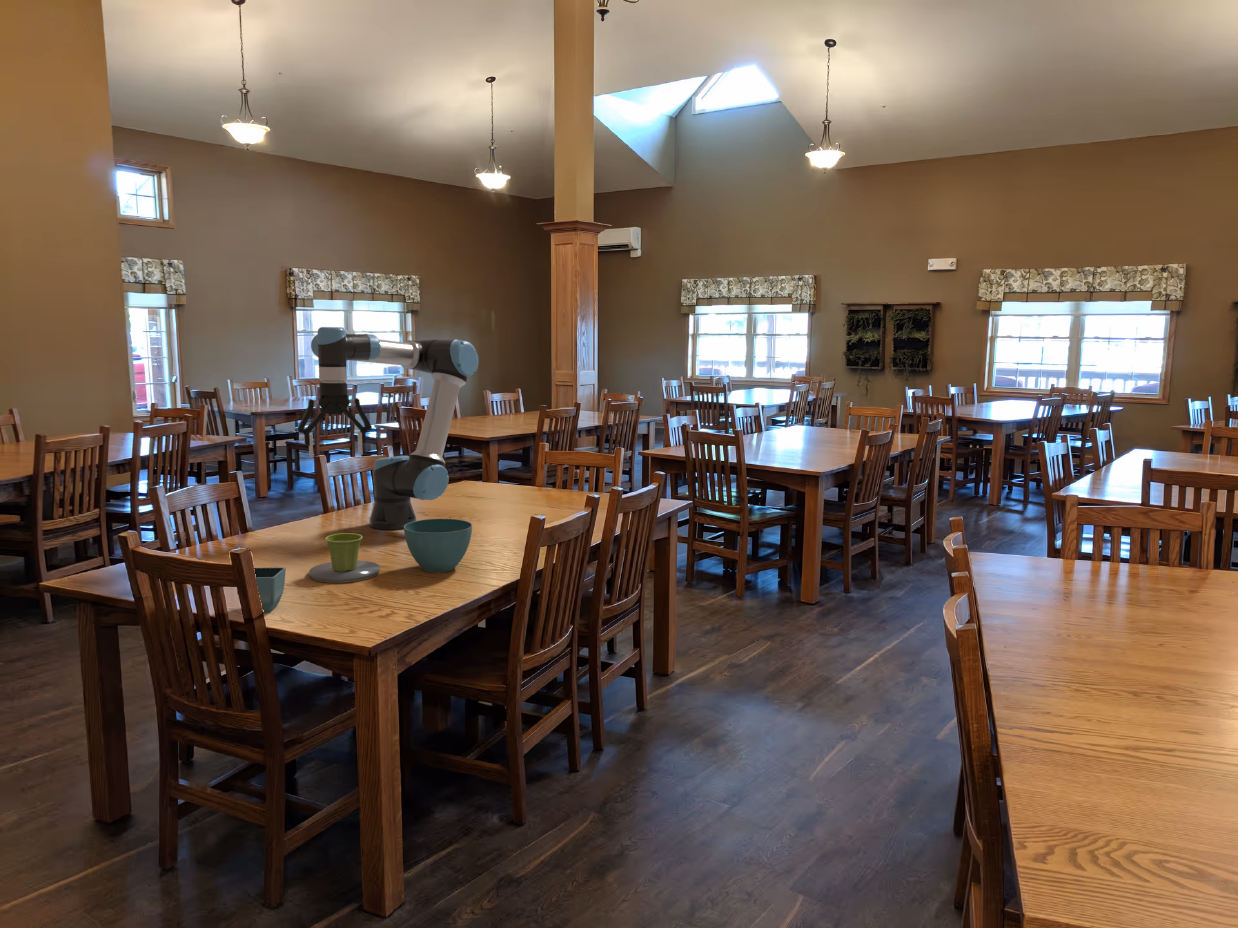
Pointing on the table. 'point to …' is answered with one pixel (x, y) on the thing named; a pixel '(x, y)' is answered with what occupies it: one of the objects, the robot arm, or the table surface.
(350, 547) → the plant pot
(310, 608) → the table surface
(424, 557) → the teal bowl
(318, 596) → the table surface
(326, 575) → the trivet
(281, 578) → the flower pot
